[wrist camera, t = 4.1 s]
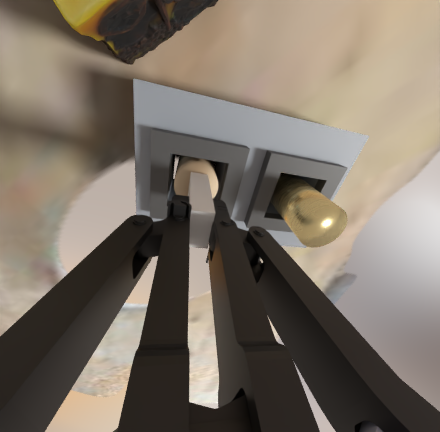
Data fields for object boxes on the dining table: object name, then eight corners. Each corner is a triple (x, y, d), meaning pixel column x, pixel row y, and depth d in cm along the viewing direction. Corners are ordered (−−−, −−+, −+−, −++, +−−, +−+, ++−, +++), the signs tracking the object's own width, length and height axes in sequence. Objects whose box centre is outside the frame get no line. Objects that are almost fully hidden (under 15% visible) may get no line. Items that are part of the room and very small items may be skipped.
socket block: (147, 206, 26) (133, 240, 19) (149, 83, 19) (128, 76, 12) (286, 222, 30) (310, 254, 24) (330, 127, 23) (379, 138, 17)
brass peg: (263, 204, 22) (290, 245, 16) (275, 170, 20) (312, 203, 14) (294, 208, 22) (331, 249, 16) (308, 176, 20) (357, 209, 14)
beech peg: (177, 176, 24) (172, 203, 18) (180, 143, 22) (175, 160, 16) (208, 180, 25) (214, 208, 18) (214, 149, 23) (222, 168, 16)
